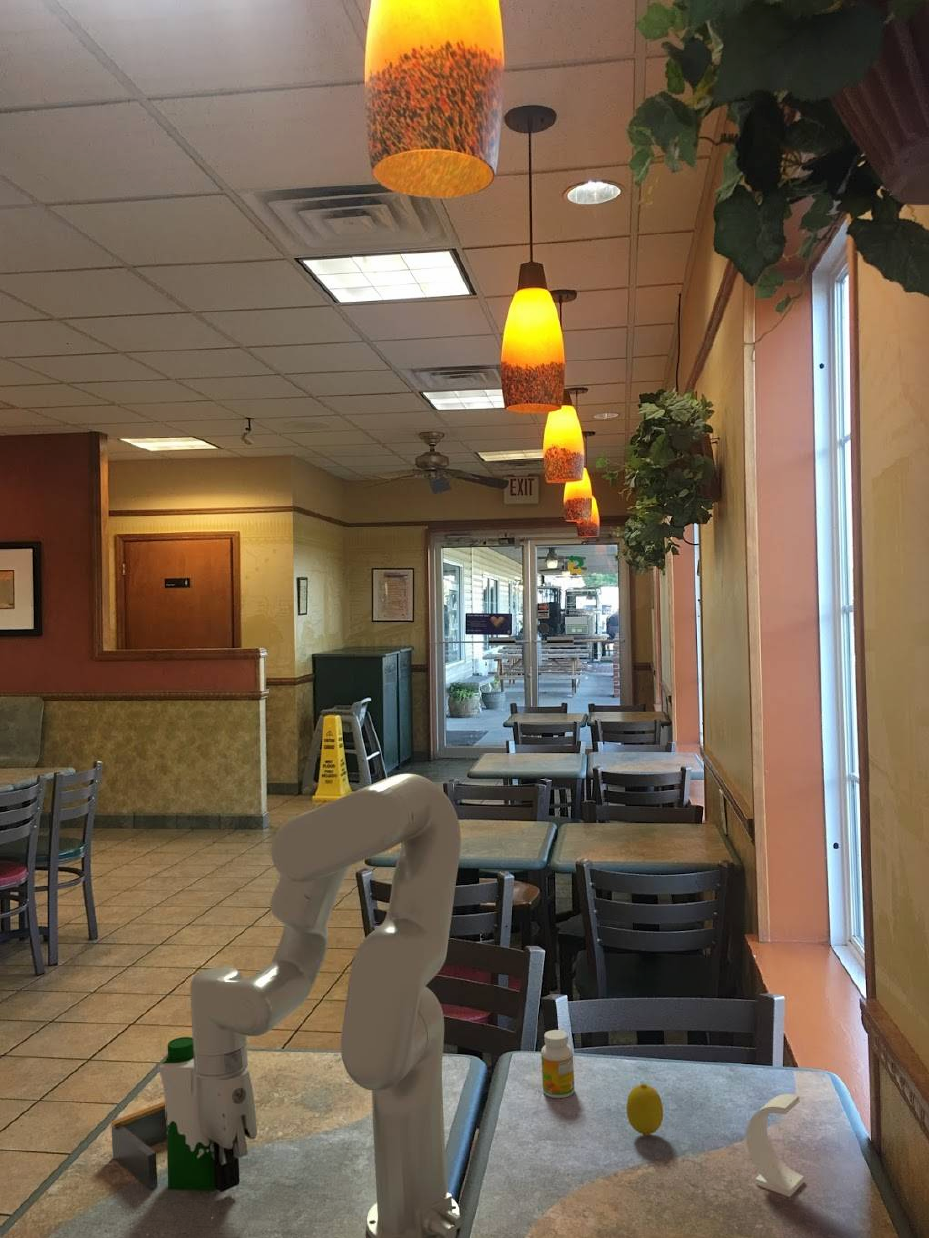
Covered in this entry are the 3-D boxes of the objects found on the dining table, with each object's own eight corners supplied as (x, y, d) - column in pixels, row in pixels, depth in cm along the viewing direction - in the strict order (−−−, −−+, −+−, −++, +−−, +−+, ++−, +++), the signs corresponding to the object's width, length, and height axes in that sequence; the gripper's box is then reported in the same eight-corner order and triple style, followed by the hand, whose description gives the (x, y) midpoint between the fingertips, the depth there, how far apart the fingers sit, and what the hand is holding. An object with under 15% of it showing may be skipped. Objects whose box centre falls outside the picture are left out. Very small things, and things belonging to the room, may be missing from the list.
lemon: (623, 1141, 151) (620, 1088, 151) (634, 1124, 156) (631, 1073, 156) (658, 1148, 149) (655, 1094, 149) (668, 1130, 154) (666, 1079, 154)
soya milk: (186, 1160, 152) (180, 1029, 153) (241, 1163, 151) (235, 1031, 151) (158, 1192, 144) (152, 1054, 144) (217, 1195, 142) (210, 1056, 142)
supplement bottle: (537, 1089, 170) (534, 1032, 170) (564, 1081, 172) (561, 1025, 172) (553, 1101, 165) (550, 1043, 165) (580, 1094, 167) (577, 1036, 167)
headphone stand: (789, 1197, 134) (784, 1108, 135) (748, 1182, 139) (743, 1096, 139) (804, 1181, 138) (799, 1095, 138) (763, 1167, 142) (758, 1083, 142)
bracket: (237, 1151, 154) (236, 1115, 154) (149, 1190, 144) (147, 1151, 145) (197, 1123, 164) (196, 1089, 164) (112, 1157, 154) (111, 1121, 154)
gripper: (270, 1064, 139) (277, 1195, 139) (218, 1036, 150) (224, 1157, 150) (223, 1082, 134) (229, 1218, 134) (172, 1052, 145) (178, 1177, 145)
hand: (227, 1186), depth 142 cm, fingers closed
